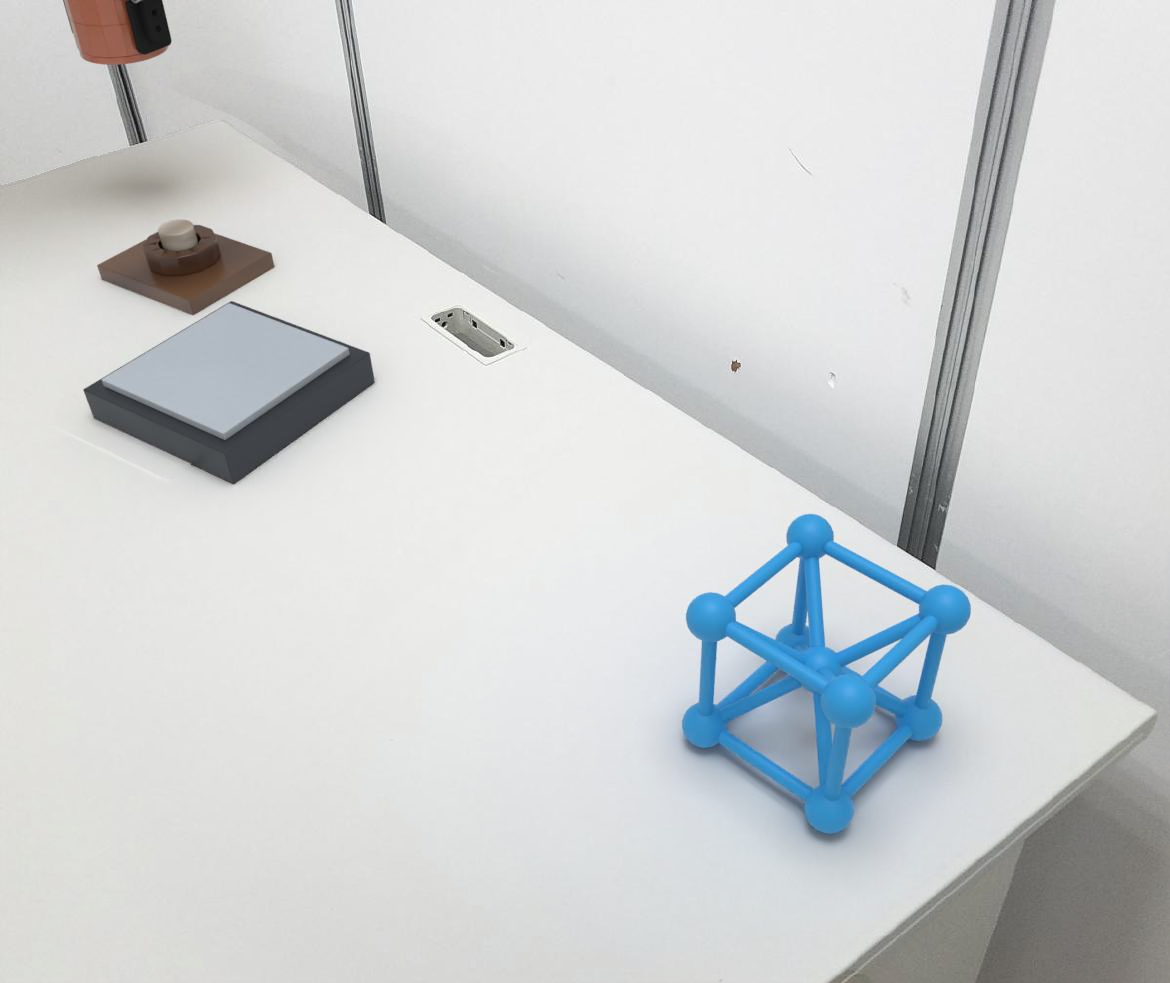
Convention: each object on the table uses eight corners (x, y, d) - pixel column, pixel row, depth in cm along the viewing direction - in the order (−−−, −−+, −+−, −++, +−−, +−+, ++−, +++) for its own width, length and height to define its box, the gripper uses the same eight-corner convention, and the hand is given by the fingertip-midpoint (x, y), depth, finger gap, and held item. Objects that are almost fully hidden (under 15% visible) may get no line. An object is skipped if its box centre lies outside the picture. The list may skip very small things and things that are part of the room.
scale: (87, 416, 85) (73, 379, 83) (233, 327, 93) (223, 291, 91) (233, 484, 79) (222, 446, 77) (375, 382, 87) (368, 345, 85)
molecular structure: (790, 637, 67) (807, 497, 60) (947, 731, 62) (985, 590, 55) (671, 740, 62) (675, 600, 55) (832, 852, 57) (858, 712, 50)
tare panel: (101, 280, 99) (90, 246, 97) (184, 236, 105) (175, 203, 103) (193, 316, 95) (183, 282, 93) (275, 268, 100) (267, 234, 98)
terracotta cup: (61, 54, 100) (40, -17, 96) (130, 29, 105) (112, -40, 101) (119, 71, 97) (100, -2, 93) (187, 45, 102) (171, -26, 98)
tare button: (155, 247, 98) (150, 229, 97) (181, 233, 99) (176, 216, 98) (179, 256, 96) (174, 238, 95) (205, 241, 98) (200, 224, 97)
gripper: (-60, -214, 90) (18, 34, 102) (93, -190, 82) (158, 74, 94) (24, -230, 94) (90, 9, 106) (177, -209, 87) (229, 46, 99)
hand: (122, 38), depth 100 cm, fingers closed on terracotta cup, 7 cm apart
